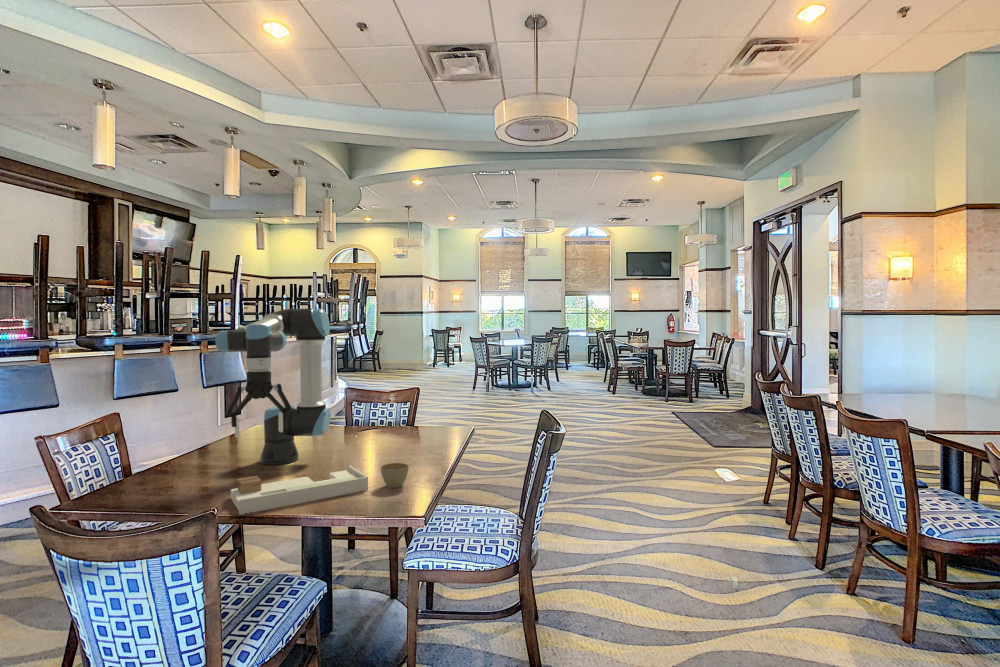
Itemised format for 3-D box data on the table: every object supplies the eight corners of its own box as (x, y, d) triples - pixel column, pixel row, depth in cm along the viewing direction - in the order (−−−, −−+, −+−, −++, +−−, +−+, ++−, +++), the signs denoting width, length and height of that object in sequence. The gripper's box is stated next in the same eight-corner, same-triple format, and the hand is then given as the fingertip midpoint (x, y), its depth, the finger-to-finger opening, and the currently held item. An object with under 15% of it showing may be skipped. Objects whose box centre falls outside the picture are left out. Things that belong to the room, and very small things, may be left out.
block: (238, 489, 177) (237, 479, 177) (257, 486, 181) (257, 475, 180) (241, 494, 172) (241, 483, 172) (261, 490, 176) (261, 480, 176)
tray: (229, 498, 177) (229, 485, 177) (350, 477, 201) (350, 465, 201) (239, 514, 162) (239, 500, 162) (368, 489, 185) (368, 477, 185)
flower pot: (413, 483, 193) (413, 463, 193) (400, 491, 183) (399, 471, 183) (389, 480, 196) (389, 461, 196) (374, 488, 187) (374, 468, 187)
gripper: (219, 373, 166) (219, 440, 166) (300, 369, 181) (301, 431, 181) (214, 371, 172) (215, 437, 172) (294, 368, 187) (294, 428, 187)
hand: (259, 434), depth 177 cm, fingers open, 13 cm apart
